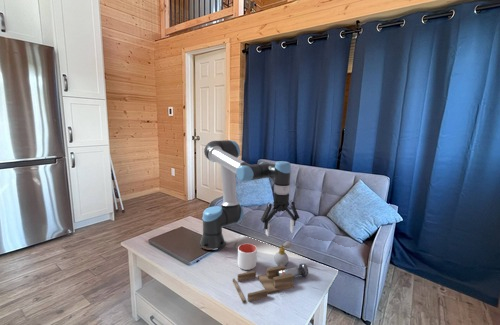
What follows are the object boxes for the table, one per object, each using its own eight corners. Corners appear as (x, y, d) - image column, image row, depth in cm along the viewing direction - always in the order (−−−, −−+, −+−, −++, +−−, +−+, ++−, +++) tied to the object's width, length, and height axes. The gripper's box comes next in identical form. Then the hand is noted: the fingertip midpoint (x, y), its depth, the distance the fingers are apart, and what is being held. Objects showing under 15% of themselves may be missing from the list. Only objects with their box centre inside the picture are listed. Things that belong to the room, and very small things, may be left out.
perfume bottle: (271, 265, 128) (272, 244, 126) (279, 257, 136) (280, 237, 134) (284, 270, 124) (286, 248, 122) (291, 261, 132) (292, 241, 130)
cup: (254, 272, 121) (255, 254, 120) (235, 269, 123) (235, 251, 122) (257, 261, 131) (258, 244, 129) (240, 259, 133) (240, 242, 131)
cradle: (232, 281, 114) (232, 271, 113) (280, 270, 123) (281, 261, 123) (242, 303, 100) (243, 292, 99) (296, 289, 109) (296, 279, 108)
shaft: (275, 277, 117) (276, 266, 116) (301, 271, 122) (302, 261, 121) (281, 285, 112) (282, 273, 111) (308, 278, 117) (308, 267, 116)
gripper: (260, 196, 109) (259, 239, 113) (307, 193, 117) (305, 233, 121) (255, 192, 116) (254, 233, 120) (299, 189, 124) (297, 227, 128)
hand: (279, 233), depth 120 cm, fingers open, 13 cm apart
